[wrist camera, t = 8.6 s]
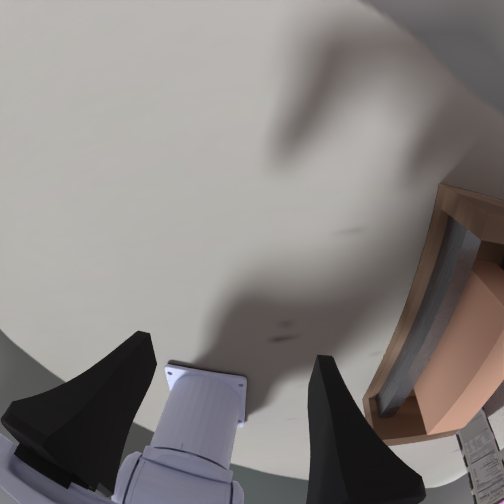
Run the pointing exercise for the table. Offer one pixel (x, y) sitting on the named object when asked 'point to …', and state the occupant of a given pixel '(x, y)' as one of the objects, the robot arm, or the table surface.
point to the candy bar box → (482, 460)
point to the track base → (432, 308)
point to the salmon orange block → (466, 355)
